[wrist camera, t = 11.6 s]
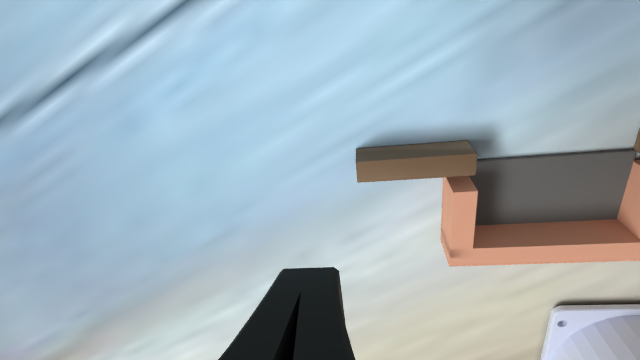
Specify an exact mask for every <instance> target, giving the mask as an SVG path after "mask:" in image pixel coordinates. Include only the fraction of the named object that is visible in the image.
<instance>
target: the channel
mask: <svg viewBox="0 0 640 360" xmlns="http://www.w3.org/2000/svg"><path fill="white" fill-rule="evenodd" d="M634 150H635V151H637V152H639V153H640V129H639V132H638V135H637V139H636V142H635V146H634ZM476 162H477V153H476V151H475V150H474V149H473V147H472V146H471V144H470V143H469V142H468V140H466V141H453V142H439V143H426V144H413V145H399V146H386V147H372V148H359V149H356V170H357V182H358V183H359V182H375V181H391V180H407V179H423V178H439V177H455V176H471V175H475V174H476Z"/></svg>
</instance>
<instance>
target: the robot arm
mask: <svg viewBox="0 0 640 360" xmlns="http://www.w3.org/2000/svg"><path fill="white" fill-rule="evenodd" d="M218 360H355V357H354V354H353V351H352V348H351V344H350V340H349V337H348V333H347V330H346V326H345V318H344V309H343V301H342V293H341V285H340V276H339V271H338V270H337V269H335V268H334V267H327V268H295V269H283V270H282V271H281V272H280V273H279V275H278V277H277V278H276V280H275V281H274V283H273V284H272V286H271V287H270V289H269V290H268V292H267V294H266V295H265V297H264V298H263V300H262V301H261V302H260V304H259V305H258V307H257V308H256V310H255V311H254V313H253V314H252V316H251V317H250V318H249V320H248V321H247V322H246V324H245V325H244V327H243V328H242V329H241V331H240V332H239V333H238V335H237V336H236V338H235V339H234V340H233V342H232V343H231V344H230V346H229V347H228V348H227V349H226V351H225V352H224V353H223V354H222V356H221V357H220V358H219V359H218ZM540 360H640V304H625V305H564V306H557V307H555V308H554V309H553V310H552V312H551V315H550V319H549V324H548V328H547V333H546V337H545V341H544V346H543V350H542V355H541V359H540Z"/></svg>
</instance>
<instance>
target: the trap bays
mask: <svg viewBox="0 0 640 360" xmlns="http://www.w3.org/2000/svg"><path fill="white" fill-rule="evenodd" d="M635 155H636V151H635V150H634V149H632V150H617V151H602V152H587V153H572V154H558V155H543V156H528V157H513V158H498V159H483V160H477V162H476V174H475V175H471V176H455V177H443V197H442V224H441V243H442V246H443V249H444V252H445V255H446V258H447V261H448V264H449V266H478V265H511V264H543V263H575V262H608V261H640V159H635V160H634V158H635Z"/></svg>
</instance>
